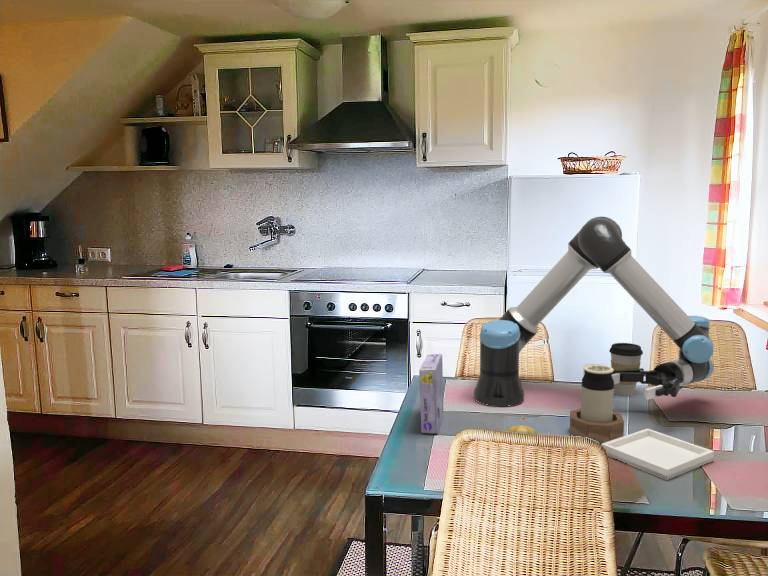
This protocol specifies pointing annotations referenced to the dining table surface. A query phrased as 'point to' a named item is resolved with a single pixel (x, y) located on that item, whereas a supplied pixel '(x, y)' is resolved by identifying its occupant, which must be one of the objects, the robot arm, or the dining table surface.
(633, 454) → the tray
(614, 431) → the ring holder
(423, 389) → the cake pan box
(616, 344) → the coffee cup
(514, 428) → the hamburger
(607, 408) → the travel mug
